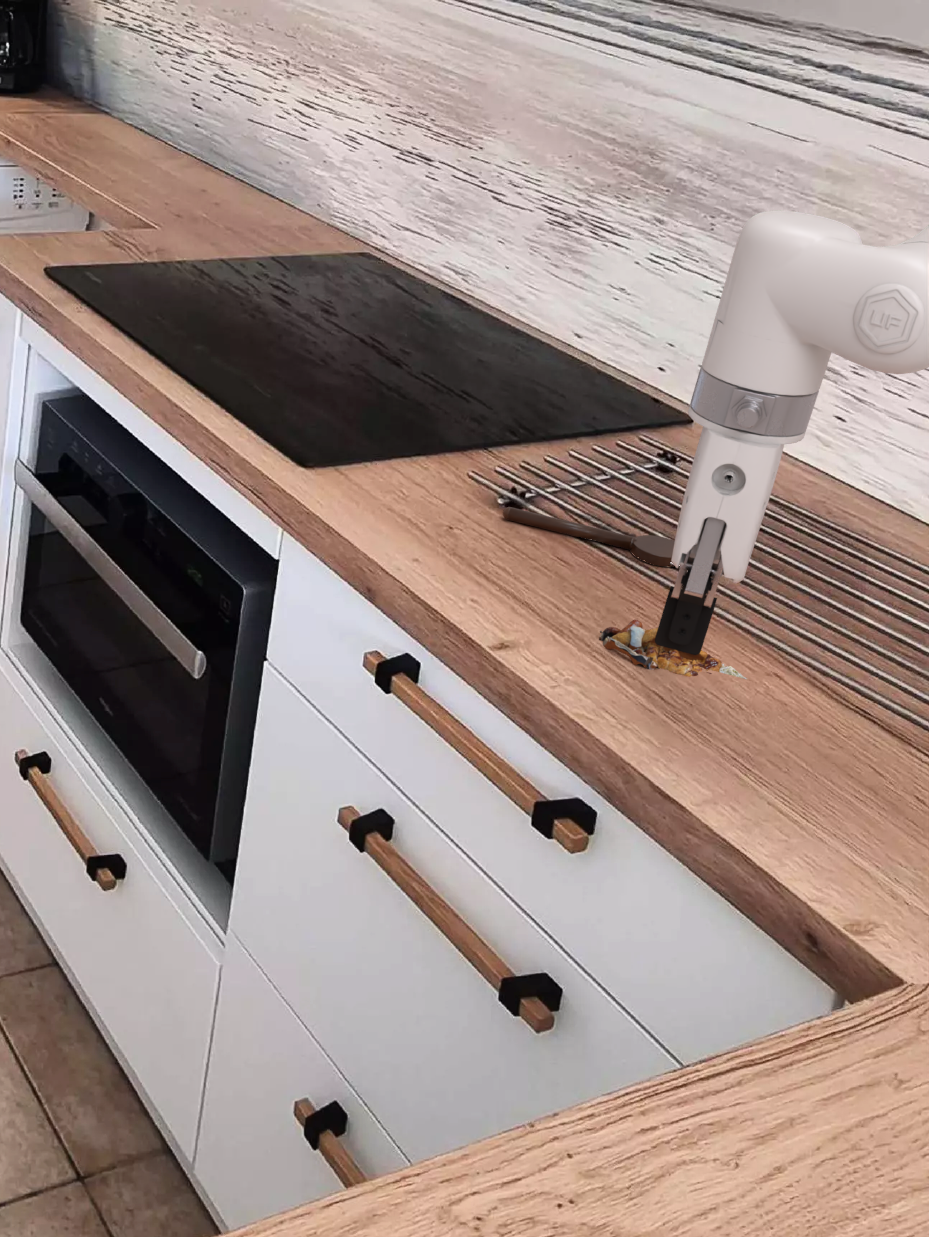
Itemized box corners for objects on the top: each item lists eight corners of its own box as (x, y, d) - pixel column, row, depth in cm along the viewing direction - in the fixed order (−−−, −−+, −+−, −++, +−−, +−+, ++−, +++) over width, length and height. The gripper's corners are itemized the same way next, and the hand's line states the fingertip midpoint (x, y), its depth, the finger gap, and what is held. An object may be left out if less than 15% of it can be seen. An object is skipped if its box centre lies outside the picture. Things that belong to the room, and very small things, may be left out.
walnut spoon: (688, 553, 152) (691, 541, 151) (682, 572, 148) (685, 560, 147) (506, 509, 157) (509, 497, 157) (496, 526, 153) (498, 514, 153)
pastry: (756, 715, 125) (770, 673, 124) (591, 679, 128) (602, 637, 126) (751, 674, 131) (764, 633, 130) (593, 641, 134) (604, 600, 132)
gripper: (804, 449, 105) (721, 704, 114) (816, 386, 117) (740, 620, 126) (681, 421, 107) (609, 673, 116) (705, 362, 120) (638, 594, 128)
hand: (677, 645), depth 121 cm, fingers closed
